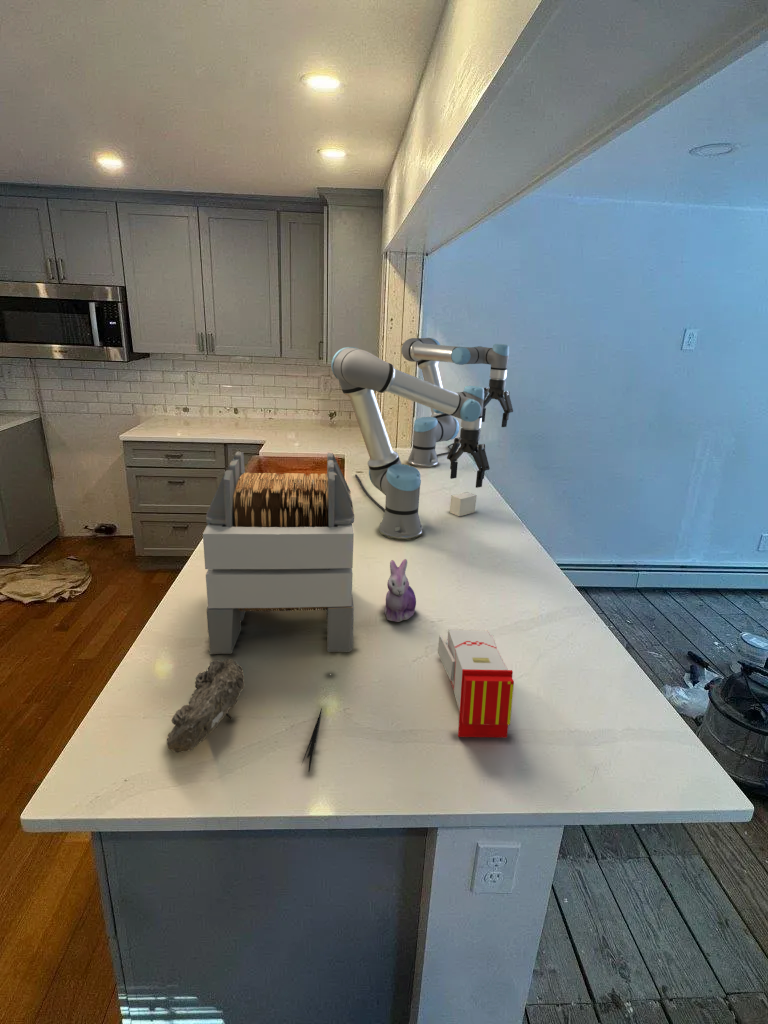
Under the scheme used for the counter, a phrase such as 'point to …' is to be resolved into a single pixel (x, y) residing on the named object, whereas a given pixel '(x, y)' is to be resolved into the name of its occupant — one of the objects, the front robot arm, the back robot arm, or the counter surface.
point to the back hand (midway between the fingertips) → (492, 424)
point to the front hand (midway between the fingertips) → (465, 482)
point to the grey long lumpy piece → (206, 705)
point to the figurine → (399, 594)
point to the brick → (463, 503)
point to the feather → (313, 740)
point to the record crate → (279, 550)
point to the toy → (478, 682)
